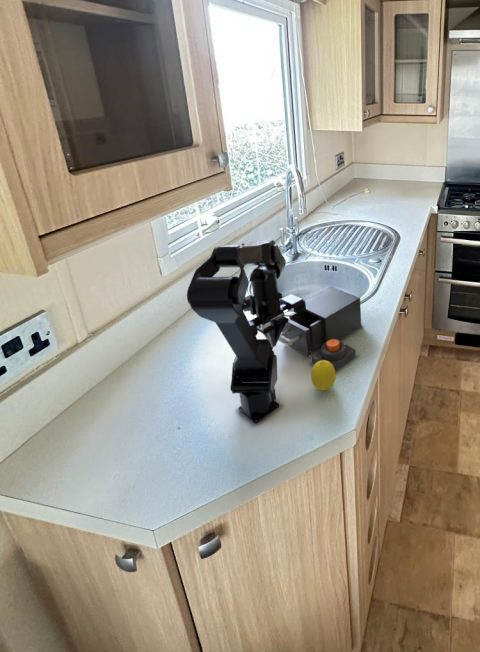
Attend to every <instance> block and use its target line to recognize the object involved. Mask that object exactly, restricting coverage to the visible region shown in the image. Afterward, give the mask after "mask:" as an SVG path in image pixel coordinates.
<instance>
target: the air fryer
mask: <svg viewBox="0 0 480 652" xmlns="http://www.w3.org/2000/svg"><path fill="white" fill-rule="evenodd" d="M303 300H304V301H305V303H306V310H304V311H306V312H308V313H310V314H312V315H314V316H316V317H318V318H321V319H323V322H324V334H325V342H327V341H328V340H331V339H337V340H339V341H343V339H345V338H346V337H349V335H351V334H353V333H354V332H356V331H357V330H359V329H360V328H362V311H361V297H359V296H357V295H355V294H352V293H349V292H347V291H344V290H342V289H340V288H337V287H334V286H329V287H327V288H325V289H323V290H322V291H319V292H318V293H316V294H314V295H312V296H310V297H308V298H306V299H303ZM320 347H322V345H321V346H320Z"/></svg>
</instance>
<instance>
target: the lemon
mask: <svg viewBox="0 0 480 652" xmlns="http://www.w3.org/2000/svg"><path fill="white" fill-rule="evenodd" d="M311 368H312V369H311V373H310V378H311V383H312V385H313V387H315V389H317V390H319V391H328V390H330V389H331V388H332V387H333V386H334V384H335V382H336V377H337V376H336V371H335V369H334V367H333V365H332V364H331V363H330V362H329V361H326V360H321V361H318V362H317V363H316V364H315V365H314V364H313V366H312V367H311Z"/></svg>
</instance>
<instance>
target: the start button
mask: <svg viewBox="0 0 480 652" xmlns="http://www.w3.org/2000/svg"><path fill="white" fill-rule="evenodd" d="M339 348H340V346H339V341H338V340H337V339H331V340H328V341H327V350H328V351H329V352H334V351H338V350H339Z"/></svg>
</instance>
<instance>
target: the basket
mask: <svg viewBox="0 0 480 652" xmlns="http://www.w3.org/2000/svg"><path fill="white" fill-rule="evenodd" d="M288 319H289V321H288V322H287V323H286V325H285V327H284V328H283V330H282V332H281V335H280V337H279V339H278V342H280V343H282V344H284V346H287V347H290V348H292V349H293V350H295V351H297V352H298V353H300V354H303V355H304V356H305V357H308V358H309V357H311V356H313V355H312V354H313V353H312V351H315V350H316V349H318V348H319V347H322V346H321V345H322V344H324V343H325V334H324V322H323V319H321V318H318V317H316V316H314V315H312V314H310V313H308V312H306V311H302V312H300V313H299V314H297V313H295V312H294V311H293V312H292V313H291V314H289V315H288Z"/></svg>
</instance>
